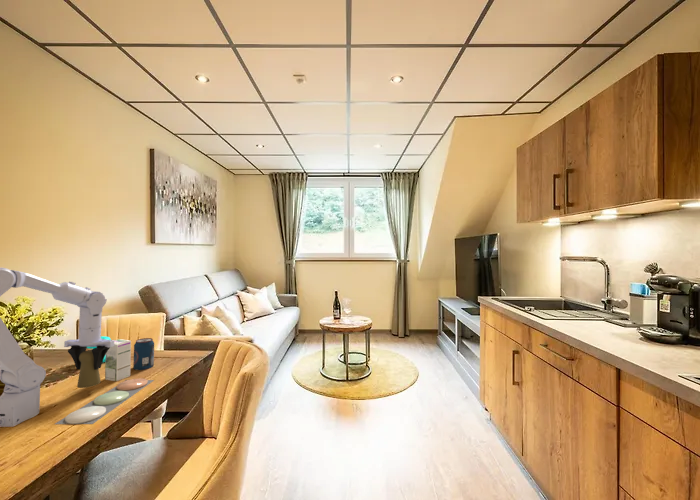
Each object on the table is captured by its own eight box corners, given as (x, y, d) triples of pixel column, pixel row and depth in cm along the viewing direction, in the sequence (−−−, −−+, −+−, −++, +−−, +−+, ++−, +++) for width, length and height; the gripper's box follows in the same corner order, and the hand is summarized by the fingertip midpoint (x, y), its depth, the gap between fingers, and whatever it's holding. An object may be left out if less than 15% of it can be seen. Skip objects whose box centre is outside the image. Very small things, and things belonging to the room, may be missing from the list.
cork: (88, 388, 102) (88, 354, 102) (72, 387, 103) (72, 353, 103) (105, 380, 108) (105, 348, 108) (90, 379, 109) (90, 347, 109)
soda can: (132, 368, 130) (132, 339, 130) (151, 365, 134) (152, 336, 135) (134, 374, 125) (135, 343, 125) (155, 370, 129) (156, 340, 129)
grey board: (92, 427, 87) (92, 423, 87) (54, 427, 86) (54, 424, 86) (154, 382, 117) (154, 380, 117) (125, 382, 116) (125, 380, 116)
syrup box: (131, 378, 120) (132, 339, 121) (115, 384, 115) (117, 343, 115) (119, 376, 122) (120, 338, 122) (103, 382, 116) (105, 342, 116)
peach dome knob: (137, 390, 108) (137, 388, 108) (110, 390, 107) (110, 388, 107) (152, 380, 117) (152, 378, 117) (127, 380, 116) (127, 378, 116)
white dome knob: (90, 423, 87) (90, 421, 87) (56, 424, 86) (56, 421, 86) (113, 407, 96) (113, 405, 96) (82, 408, 95) (82, 406, 95)
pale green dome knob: (116, 405, 97) (116, 403, 97) (86, 405, 97) (86, 403, 97) (135, 392, 106) (135, 390, 106) (107, 392, 106) (107, 390, 106)
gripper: (120, 324, 110) (119, 364, 110) (77, 324, 109) (75, 364, 109) (106, 329, 103) (105, 372, 103) (59, 329, 102) (57, 371, 102)
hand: (88, 368), depth 105 cm, fingers closed on cork, 5 cm apart
